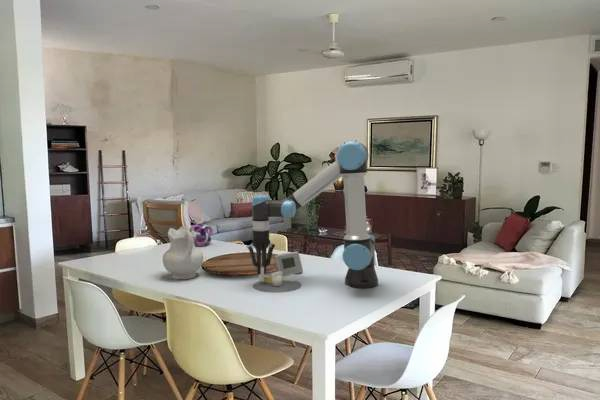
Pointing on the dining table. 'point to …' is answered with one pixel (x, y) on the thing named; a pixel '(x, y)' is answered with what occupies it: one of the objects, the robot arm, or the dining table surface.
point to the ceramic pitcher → (182, 254)
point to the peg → (274, 278)
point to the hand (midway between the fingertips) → (261, 280)
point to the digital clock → (288, 263)
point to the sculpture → (202, 234)
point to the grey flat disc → (285, 287)
